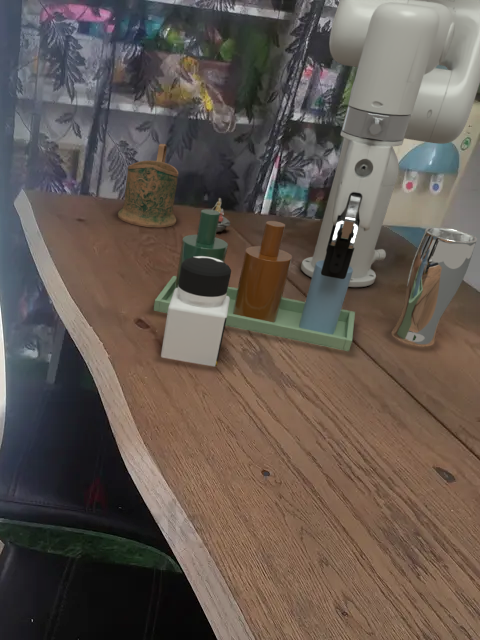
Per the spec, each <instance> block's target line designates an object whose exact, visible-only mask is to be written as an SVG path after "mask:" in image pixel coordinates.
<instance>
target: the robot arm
mask: <svg viewBox="0 0 480 640" xmlns="http://www.w3.org/2000/svg"><path fill="white" fill-rule="evenodd" d="M337 5H338V6H337V8H336V10H335V14H334V17H333V21H332V24H331V29H330V33H329V40H328V41H329V42H328V43H329V44H328V45H329V52H330V56H331V57H332V59H333V60H334V61H335V62H336V63H338V64H340V65H343V66H346V67H354V68H357V69H356V74H355V78H354V80H353V83H352V85H351V86H352V87H351V90H350V95H349V100H348V104H347V107H346V111H345V115H344V119H343V123H342V126H341V130H340V136H341V137H342V138H343V139H342V145H341V149H340V153H339V158H338V161H337V165H336V169H335V173H334V177H333V180H332V183H331V187H330V191H329V195H328V198H327V203H326V206H325V209H324V214H323V218H322V221H321V225H320V228H319V232H318V236H317V239H316V243H315V247H314V251H313V255H312V256H310V257H306V258H304V259H303V260H302V262H301V265H300V270H301V271H302V273H303V274H304V275H306V276H308V277H309V278H311V279H312V276H313V272H314V268H315V265H316V262H318V261H322V260H324V263H323V267H322V271H321V274H322V275H323V276H328V277H333V278H339V279H345V278H346V275H347V271H348V268H349V266H350V267H352V269H353V272H352V276H351V279H350V282H349V285H348V288H363V287H367V286H371V285H372V284H374V283H375V282H376V277H377V275H376V272H375V271H374V270H373V269H372V264H374V263H375V262H381V261H384V260H385V258H386V256H387V253H386V250H385V249H383V248H379V249H376V247H377V243H378V240H379V236H380V233H381V230H382V228H383V224H384V221H385V218H386V214H387V211H388V209H389V206H390V202H391V200H392V199H391V198H392V195H393V192H394V189H395V186H396V183H397V180H398V177H399V170H400V166H399V165H400V164H399V160H398V156H397V154H396V151H395V149H394V147H400V146H402V145H403V144H404V140H411V141H417V142H424V143H430V144H439V145H440V144H441V145H444V144H445V145H446V144H449V143H452V142H454V141H455V140H457V139H458V138H459V137H460V135H461V134H462V133H463V131H464V129H465V127H466V125H467V122H468V120H469V118H470V114H471V112H472V109H473V106H474V103H475V100H476V96H477V93H478V90H479V86H480V0H339V2H338V4H337ZM439 66H441V67H446V69H445V68H438V67H439Z"/></svg>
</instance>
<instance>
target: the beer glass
mask: <svg viewBox="0 0 480 640" xmlns="http://www.w3.org/2000/svg"><path fill="white" fill-rule="evenodd" d="M477 241H478V238H477V237H476V236H475V235H473V234H471V233H468V232H466V231H463V230H460V229H455V228H450V227H444V226H429V227H427V228H425V230H424V233H423V235H422V238H421V240H420V242H419V244H418V246H417V248H416V249H417V250H416V252H415V254H414V257H413V260H412V263H411V266H410V269H409V273H408V278H407V283H406V290H405V296H404V301H403V306H402V309H401V313H400V315H399V318H398V320H397V322H396V323H395V325H394V327H393V329H392V331H391V335H392V337H393V338H395V339H396V340H397V341H400V342H402V343H404V344H408V345H411V346H415V347H430V346H434V344H435V343H436V337H437V333H438V328H439V325H440V322H441V319H442V317H443V315H444V313H445V312H446V310H447V309H448V307H449V305H450V303H451V302H452V300H453V299H454V297H455V295H456V293H457V292H458V291H459V288H460V286H461V284H462V282H463V281H464V278H465V276H466V274H467V271H468V268H469V266H470V263H471V260H472V257H473V253H474V250H475V246H476V244H477Z"/></svg>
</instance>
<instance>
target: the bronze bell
mask: <svg viewBox="0 0 480 640" xmlns="http://www.w3.org/2000/svg"><path fill="white" fill-rule="evenodd" d="M167 147H168V146H167V144H166V143H160V144H159V145H158V148H157V155H156V160H141V161H137V162H134V163H132V164H129V165H128V166H127V175H126V181H125V190H124V199H123V207H122V208H121V209H120V210H119V211H118V212H117V217H118V219H119V220H120V221H123V222H125V223H127V224H131V225H134V226H139V227H145V228H170V227H173V226H175V225H176V223H177V218H176V216H175V214H174V205H175V198H176V197H175V196H176V192H177V186H178V178H179V171H178V169H177V168H176V167H175V166H173V165H171V164H169V163H167V162H166V158H167V157H166V156H167V149H168V148H167Z"/></svg>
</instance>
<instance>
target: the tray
mask: <svg viewBox="0 0 480 640" xmlns="http://www.w3.org/2000/svg"><path fill="white" fill-rule="evenodd" d="M176 277H177V275H173V276H171V277H170V280H169V281H168V282H167V283H166V285H165V286H164V288H163V289H162V290H161V291H160V293H159V294H158V295H157V297H156V298H155V299H154V303H153V311H154V312H160V313H165V314H167V313H168V307H169V304H170V301H171V299H172V296H173V293H174V290H175V284H176ZM237 289H238V287H232V286H228V289H227V294H226V296H229V298H230V301H229V307H228V313H227V319H226V324H225V327H231V328H235V329H240V330H246V331H250V332H253V333H254V332H255V333H260V334H265V335H269V336H273V337H278V338H284V339H287V340H292V341H298V342H304V343H307V344H311V345H312V344H313V345H318V346H321V347H327V348H332V349H335V350H340V351H345V352H350V350H351V346H352V343H353V339H354V337H353V336H354V326H355V317H356V311H352V310H349V309H348V310H347V309H343V308H342V309H341V312H340V315H339V318H338V322H337V325H336V328H335V332H334V334H327V333H322V332H317V331H312V330H308V329H303V328H300V327H299V324H300V320H301V316H302V313H303V309H304V305H305V302H306V301H302V300H299V299H292V298H287V297H283V296H282V300H281V304H280V308H279V312H278V316H277V320H276V321H275V322H269V321H264V320H259V319H254V318H249V317H245V316H240V315H235V314H233V308H234V303H235V299H236V294H237Z"/></svg>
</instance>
